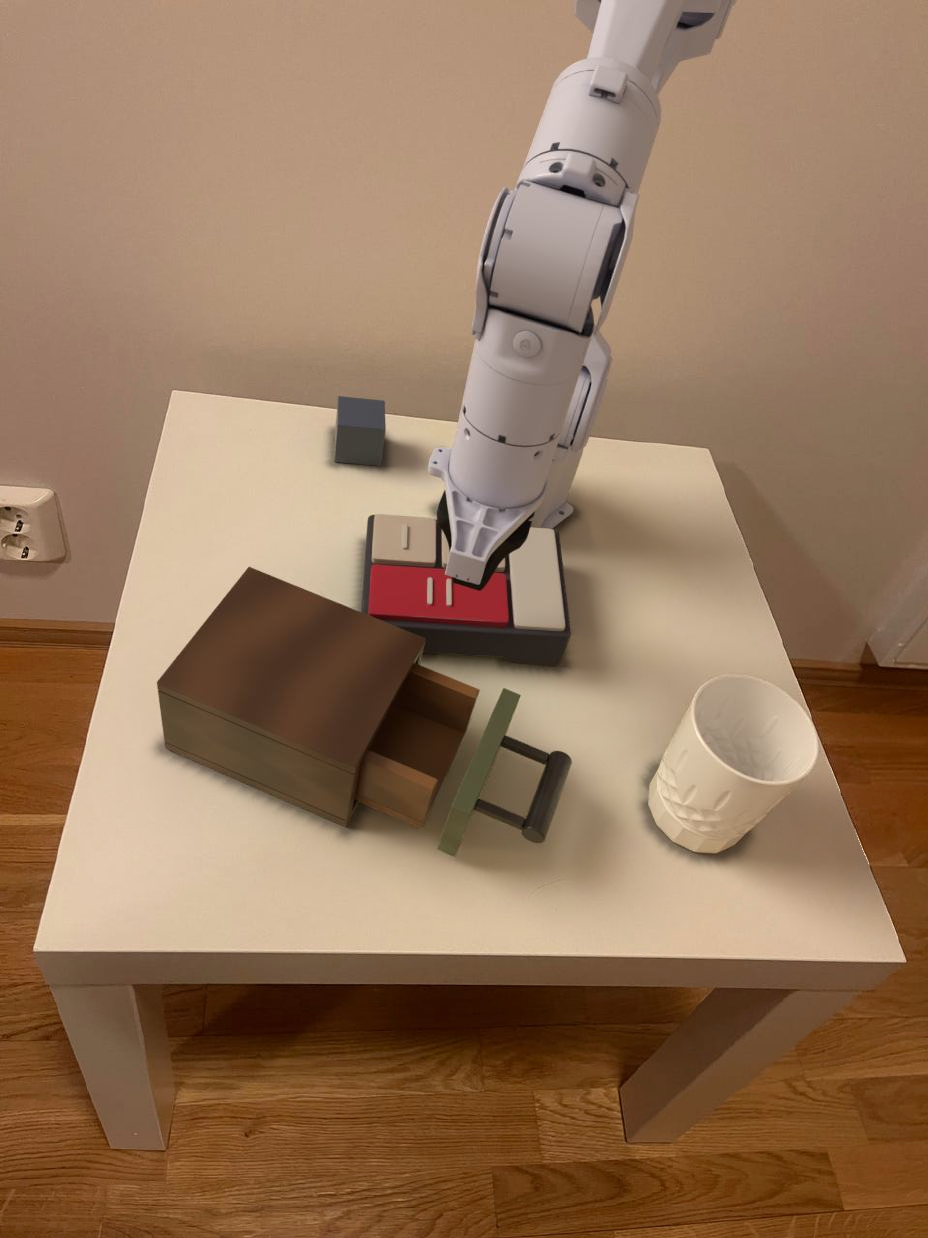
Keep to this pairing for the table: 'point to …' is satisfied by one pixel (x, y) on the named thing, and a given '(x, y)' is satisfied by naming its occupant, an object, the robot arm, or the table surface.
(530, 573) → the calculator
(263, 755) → the cabinet
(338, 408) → the block
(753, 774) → the white cup
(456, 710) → the drawer
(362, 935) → the table surface
